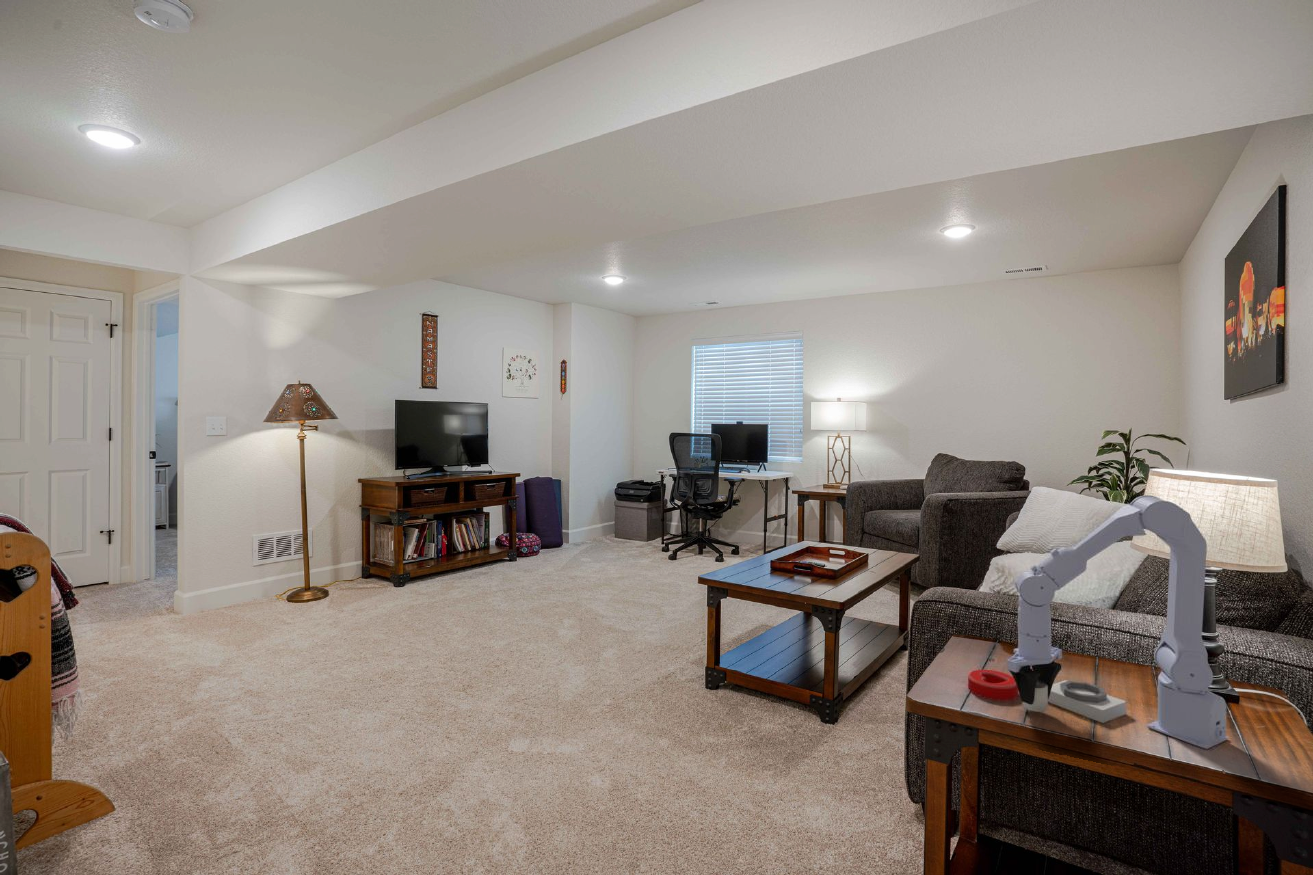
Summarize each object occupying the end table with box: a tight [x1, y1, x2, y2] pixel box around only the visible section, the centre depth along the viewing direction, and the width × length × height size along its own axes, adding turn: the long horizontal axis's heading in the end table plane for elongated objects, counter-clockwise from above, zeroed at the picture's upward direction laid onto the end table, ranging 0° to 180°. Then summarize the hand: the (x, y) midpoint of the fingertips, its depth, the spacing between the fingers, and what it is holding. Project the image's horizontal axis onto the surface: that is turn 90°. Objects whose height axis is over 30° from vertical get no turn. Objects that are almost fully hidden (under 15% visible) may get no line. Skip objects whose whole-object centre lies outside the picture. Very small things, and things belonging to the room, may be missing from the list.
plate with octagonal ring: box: [1048, 679, 1127, 724], centre depth 132 cm, size 12×8×4 cm, turn 26°
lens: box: [1021, 680, 1049, 713], centre depth 130 cm, size 4×4×5 cm
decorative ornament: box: [967, 669, 1019, 701], centre depth 140 cm, size 10×10×3 cm
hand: (1034, 699), depth 130 cm, fingers closed on lens, 4 cm apart
